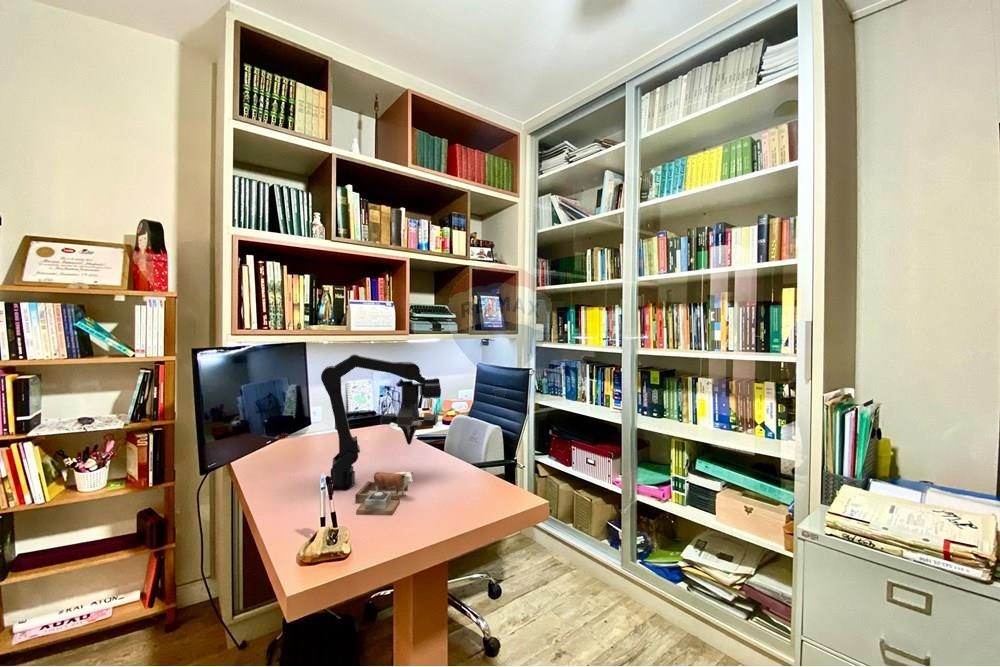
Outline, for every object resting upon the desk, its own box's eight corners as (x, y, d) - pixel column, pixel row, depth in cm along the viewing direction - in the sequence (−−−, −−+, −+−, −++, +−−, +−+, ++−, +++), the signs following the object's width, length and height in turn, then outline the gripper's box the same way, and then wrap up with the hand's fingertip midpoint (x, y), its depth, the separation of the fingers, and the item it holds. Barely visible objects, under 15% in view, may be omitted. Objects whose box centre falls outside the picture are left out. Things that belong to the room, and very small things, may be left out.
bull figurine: (410, 501, 122) (411, 474, 122) (370, 496, 126) (371, 470, 126) (417, 496, 127) (417, 469, 126) (378, 491, 130) (379, 465, 130)
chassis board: (345, 514, 113) (345, 500, 113) (367, 489, 131) (367, 477, 131) (392, 515, 113) (392, 501, 113) (407, 490, 131) (407, 478, 131)
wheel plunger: (369, 507, 115) (370, 496, 115) (374, 501, 119) (374, 491, 119) (382, 507, 115) (382, 496, 115) (386, 502, 119) (386, 491, 118)
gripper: (375, 402, 133) (374, 450, 133) (432, 403, 132) (432, 451, 132) (385, 397, 144) (385, 441, 144) (438, 398, 143) (437, 442, 144)
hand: (409, 444), depth 141 cm, fingers closed
